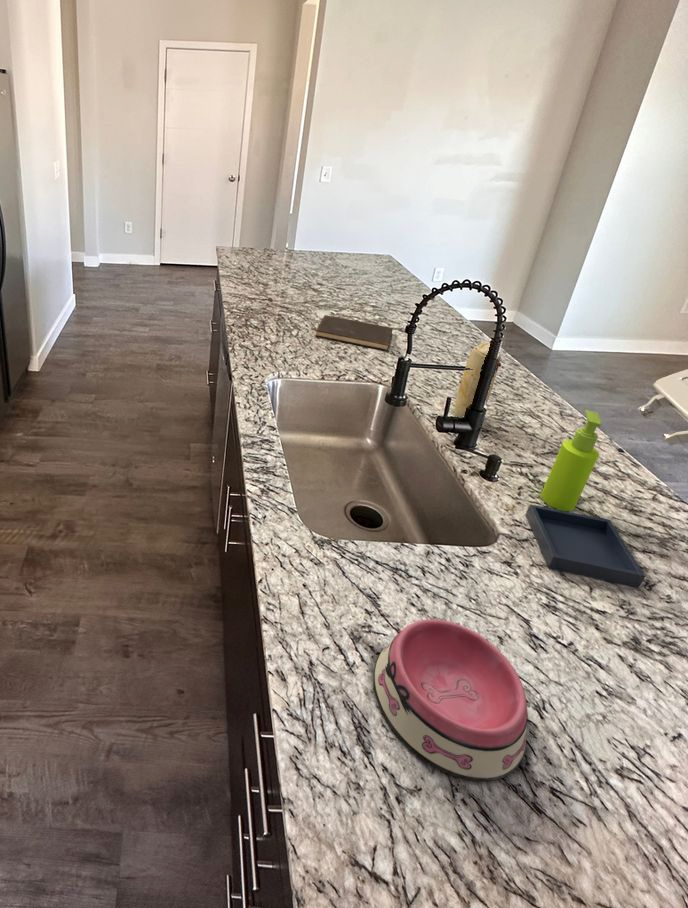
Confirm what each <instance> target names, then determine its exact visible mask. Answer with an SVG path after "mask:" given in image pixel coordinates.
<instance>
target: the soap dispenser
mask: <svg viewBox="0 0 688 908" xmlns="http://www.w3.org/2000/svg"><path fill="white" fill-rule="evenodd" d="M584 413H585V416H586V422H585V424H584V427H583V428H578V429H577V430H576V431H575V433H574V436H573V438H572V439H565V440H563V441H562V443H561V446H560V447H559V451H558V453H557V455H556V457H555V460H554V462H553V464H552V467H551V469H550V471H549V473H548V477H547V478H546V481H545V483H544V486H543V488H542V491H541V493H540V498H541V501H543V502H544V504H546V505H548V506H549V507H550V508H552V509H556V510H562V511H567V512H571V511H574V510H575V508H576V506H577V504H578V502H579V500H580V497H581V495H582V494H583V491H584V488H585V487H586V484H587V483H588V480H589V479H590V477H591V474H592V472H593V470H594V467H595V465H596V463H597V461H598V459H599V457H600V452H599V451H598V450H597V449H596V448H595V445H596V443H597V441H598V439H599V435H598V434H597V433H596V430H597V427H599V428H600V427H601V425H602V422H601V418H600V414H599V413H598V412H596V411H593V410H588V409H585V410H584Z"/></svg>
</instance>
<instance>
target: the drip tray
mask: <svg viewBox="0 0 688 908" xmlns="http://www.w3.org/2000/svg"><path fill="white" fill-rule="evenodd" d="M525 512H526V513H525V519H526V520H527V522H528V525H529V527H530V530H531V532H532V534H533V536H534V539H535V541H536V543H537V546H538V548H539V551H540V553H541V555H542V558H543V560H544V562H545V564H546V567H547V569H549V570H553V571H559V572H563V573H566V574H572V575H575V576H576V575H577V576H581V577H587V578H590V579H595V580H600V581H603V582H609V583H613V584H618V585H623V586H627V587H631V588H635V589H636V588H637V589H639V588H640V587H641V585H642V583H643V582H644V580H645V578H646V574H645V573H644V571H643V570H642V569H641V566H640V565H639V564H638V562H637V560H636V559H635V557H634V556H633V554H632V552H631V551H630V549H629V548H628V546H627V544H626V543H625V541H624V540H623V537H621V534H620V533H619V532H618V530H617V528H616V527H615V525H614V524H613V522H612V521H611V519H607V518H602V517H597V516H592V515H586V514H581V513H576V512H571V511H562V510H558V509H555V508H552V507H547V506H541V505H536V504H530V503H529V505H528V508H527V510H526V511H525Z"/></svg>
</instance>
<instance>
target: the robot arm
mask: <svg viewBox="0 0 688 908" xmlns="http://www.w3.org/2000/svg"><path fill="white" fill-rule="evenodd" d="M652 386H653V388H654V390H655V391H656V392H657V393H658V394H656V395H654V396H653V397H652V398H650V399H649V401H648V402H647V403H645V404H643V405H641V406H639V407H638V408H637V411H638V412H639V414H640V415H641V416H642V417H643V418H645V419H648V418H651V417H653V416H655V415H656V413H655V412H657V411H658V410H659V409H661V408H666V407H669V406H670V407H671V408H672V409H673V410H674V411H675V412H676V413H677V414H678V415H679V416H680V417H682V418H683V420H684V421H686V422H687V423H688V368H687V369H684V370H680V371H678V372H675V373H672V374H669V375H666V376H664V377H661V378H659V379H657V380H655V382H654V383H653V384H652ZM661 437H662V438H663V440H664V441H665V442H666V443H667V444H668V445H669V446H671V447H672V446H675V445H678V444H680V443H688V430H683V431H682V430H681V431H674V430H673V429H672V430H669V431H667V432H663V433H662V435H661Z"/></svg>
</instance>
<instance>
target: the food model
mask: <svg viewBox="0 0 688 908" xmlns="http://www.w3.org/2000/svg"><path fill="white" fill-rule="evenodd" d="M490 344H491V343H488V342H482V343H480V344H479V345H478V346H477V348H476V347H473V349H471V351H470V352H469V355H468V358H467V361H466V365H465V368H470V369H473V370H465V368H464V371H463V374H462V377H461V380H460V383H459V387H458V391H457V394H456V398H455V402H454V406H453V414H454V417H455V418H457V417H463V416H464V414H465V411H466V408H467V407H468V406H469V405H470V404H471V403H472V401H473V398H474V395H475V392H476V388H477V385H478V381H479V378H480V372H481V367H482V365H483V364H484V360H485V357H486V355H487V353H488V351H489V347H490ZM501 354H502V353H501V351H500V352H499V357H498V363H497V368H496V372H495V374H494V377H493V380H492V383H491V386H490V389H489V392H488V395H487V399H486V405H488V401H489V399H490V396H491V393H492V390H493V387H494V384H495V380H496V377H497V374H498V370H499V368H500V363H501V359H502V355H501Z"/></svg>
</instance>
